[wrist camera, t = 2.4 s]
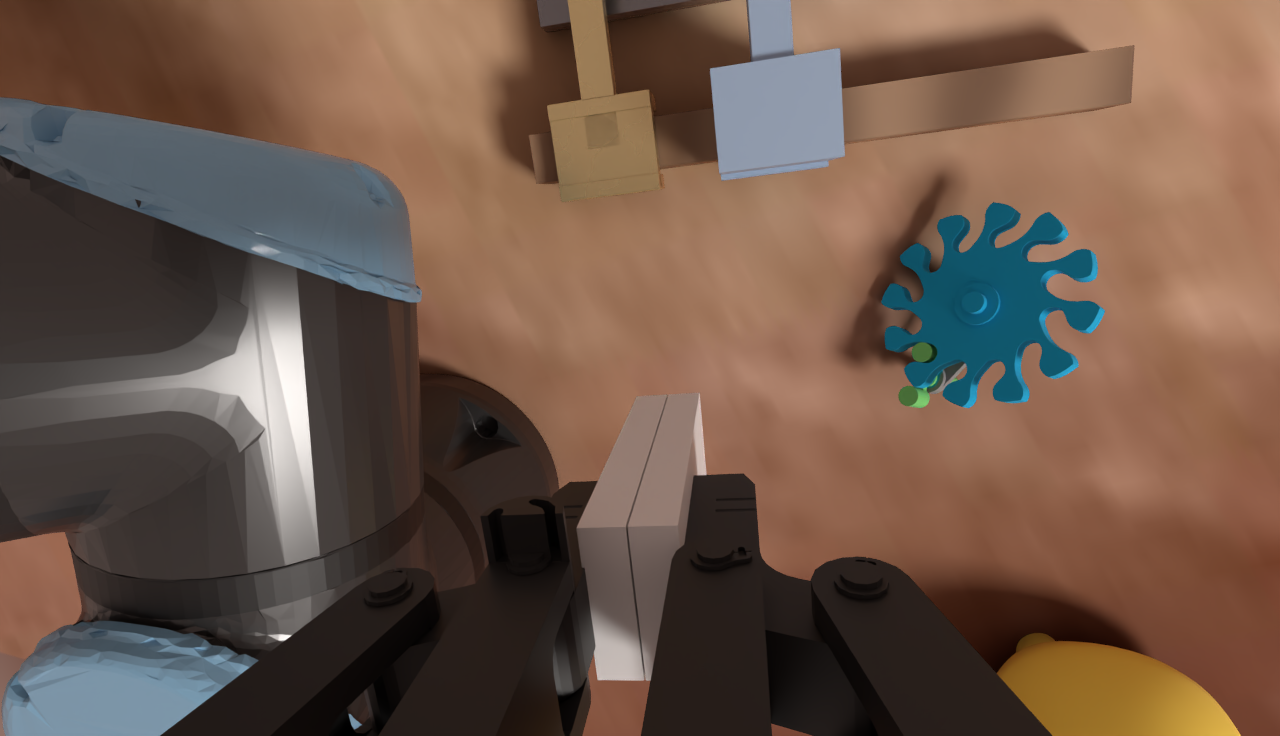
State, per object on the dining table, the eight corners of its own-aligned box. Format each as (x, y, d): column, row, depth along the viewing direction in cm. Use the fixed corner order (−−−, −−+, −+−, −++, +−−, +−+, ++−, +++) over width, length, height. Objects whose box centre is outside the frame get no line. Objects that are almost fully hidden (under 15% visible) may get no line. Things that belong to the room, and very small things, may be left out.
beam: (551, 184, 37) (536, 183, 34) (544, 139, 36) (528, 135, 33) (1095, 110, 32) (1130, 103, 30) (1098, 58, 32) (1134, 45, 29)
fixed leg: (573, 201, 35) (561, 202, 33) (534, -67, 32) (518, -87, 30) (665, 189, 35) (660, 189, 32) (634, -86, 31) (626, -110, 29)
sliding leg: (722, 180, 34) (719, 179, 27) (697, -99, 31) (687, -182, 24) (821, 167, 33) (845, 162, 26) (805, -120, 30) (828, -213, 23)
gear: (967, 162, 32) (1157, 275, 26) (1011, 197, 36) (1184, 302, 30) (828, 336, 37) (961, 466, 31) (879, 350, 41) (1007, 468, 35)
